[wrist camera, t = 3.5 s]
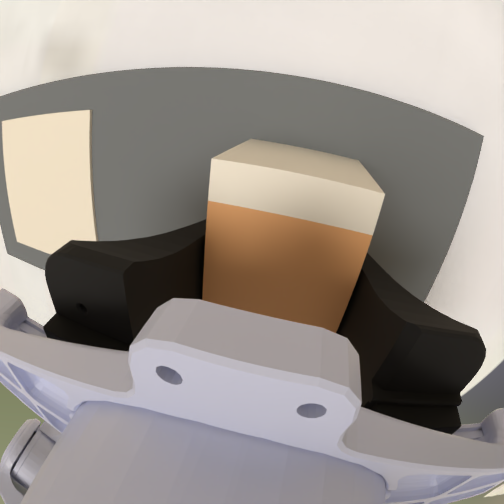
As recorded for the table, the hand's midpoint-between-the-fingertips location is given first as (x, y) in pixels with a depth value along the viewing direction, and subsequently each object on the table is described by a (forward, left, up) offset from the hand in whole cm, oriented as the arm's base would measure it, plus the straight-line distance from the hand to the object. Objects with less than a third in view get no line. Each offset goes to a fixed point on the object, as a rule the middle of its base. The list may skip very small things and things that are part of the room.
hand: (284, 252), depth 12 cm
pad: (0, +16, -2) cm, 16 cm away
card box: (0, 0, -2) cm, 2 cm away
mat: (0, +8, -2) cm, 8 cm away
